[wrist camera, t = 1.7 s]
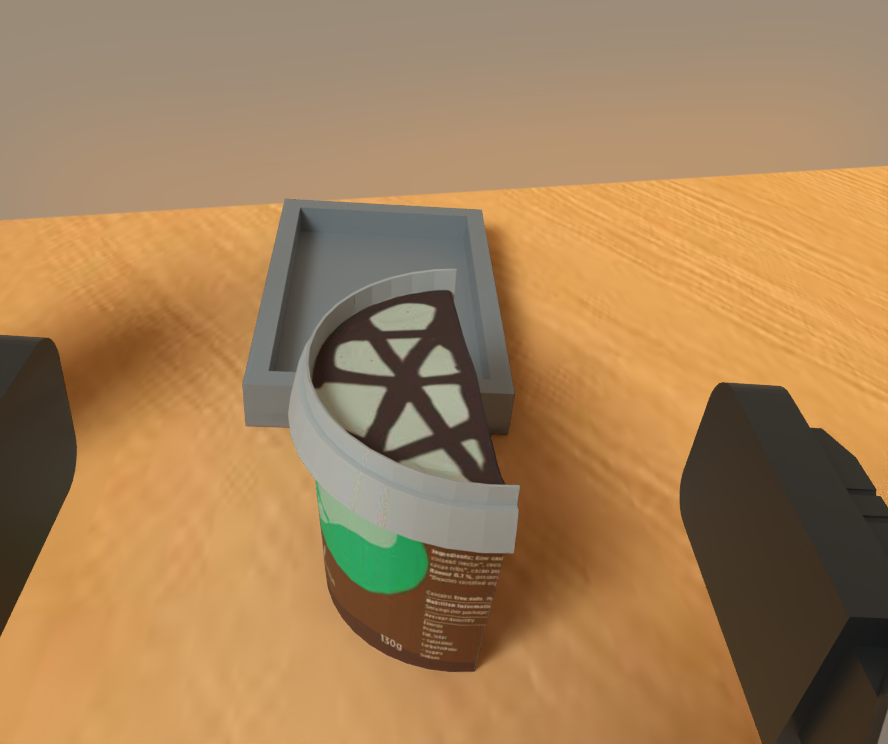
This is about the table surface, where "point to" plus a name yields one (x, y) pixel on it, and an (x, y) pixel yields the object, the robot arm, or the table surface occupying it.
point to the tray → (360, 264)
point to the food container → (404, 471)
